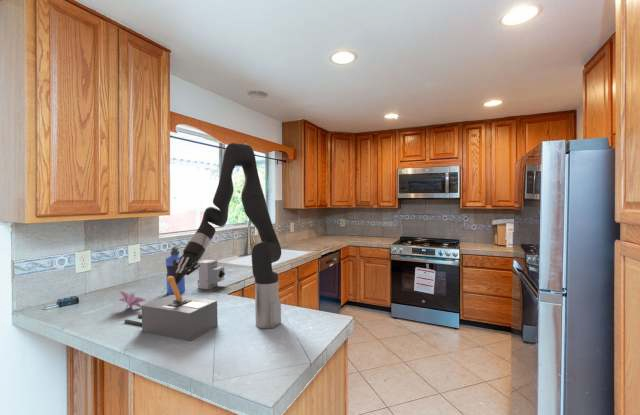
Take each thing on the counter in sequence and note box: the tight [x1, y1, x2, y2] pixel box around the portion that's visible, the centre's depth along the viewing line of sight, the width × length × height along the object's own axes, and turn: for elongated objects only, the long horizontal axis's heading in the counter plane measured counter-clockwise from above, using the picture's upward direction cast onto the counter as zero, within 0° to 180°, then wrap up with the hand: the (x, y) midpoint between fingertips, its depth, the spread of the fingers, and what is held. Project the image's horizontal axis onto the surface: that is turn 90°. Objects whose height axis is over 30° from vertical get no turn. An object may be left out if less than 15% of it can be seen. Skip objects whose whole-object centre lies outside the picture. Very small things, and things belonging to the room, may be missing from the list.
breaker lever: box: [166, 276, 183, 302], centre depth 114 cm, size 2×1×12 cm, turn 69°
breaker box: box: [124, 295, 219, 342], centre depth 119 cm, size 39×14×11 cm, turn 69°
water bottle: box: [165, 246, 186, 296], centre depth 163 cm, size 9×9×25 cm
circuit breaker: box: [196, 259, 226, 290], centre depth 173 cm, size 8×14×15 cm, turn 78°
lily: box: [118, 290, 147, 315], centre depth 136 cm, size 12×12×10 cm
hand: (174, 283), depth 114 cm, fingers closed
